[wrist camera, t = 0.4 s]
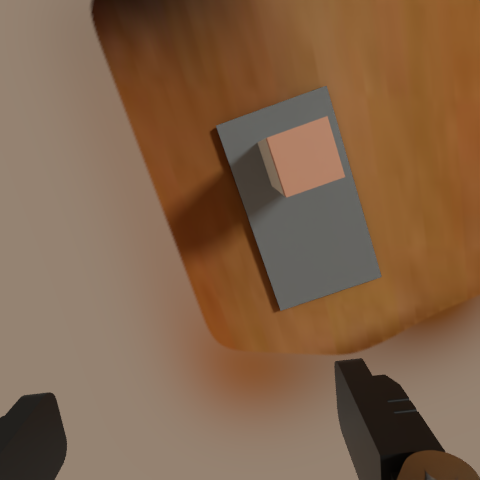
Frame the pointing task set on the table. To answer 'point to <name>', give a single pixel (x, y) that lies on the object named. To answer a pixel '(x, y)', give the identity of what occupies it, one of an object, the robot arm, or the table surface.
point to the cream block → (302, 158)
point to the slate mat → (300, 208)
